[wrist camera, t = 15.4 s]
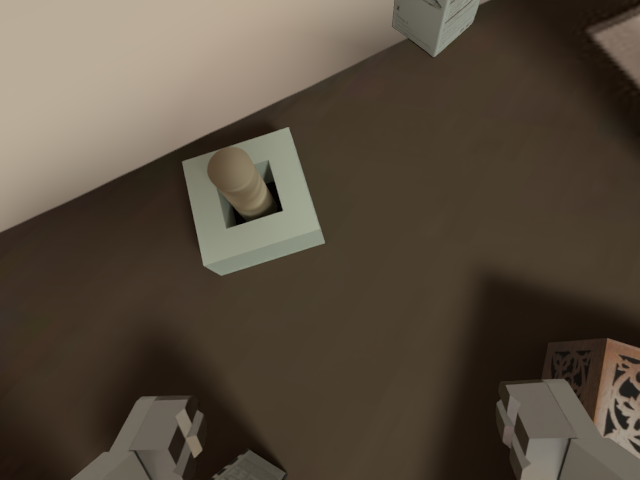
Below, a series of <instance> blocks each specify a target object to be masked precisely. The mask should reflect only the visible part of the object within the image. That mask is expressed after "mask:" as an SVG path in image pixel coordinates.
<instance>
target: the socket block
mask: <svg viewBox="0 0 640 480" xmlns="http://www.w3.org/2000/svg"><path fill="white" fill-rule="evenodd" d="M229 147H238V148H241V149H243V150H244V151H245V152H246V153H247V154H248V155H249V157H250V158H251V160H252V162H253V164H254V165H255V167H256V169H257V170H258V172H259V174H260V176H261V177H262V179H263V181H264V183H265V184H268V183H271V182H274V181H275V184H276V187H277V191H278V194H279V198H280V201H281V205H282V208H283V211H281V212H278V213H275V214H272V215H269V216H265V217H262V218H259V219H256V220H253V221H250V222H247V223H243V224H240V225H237V224H236V220H235V216H234V211H233V207H232V204H231V203H230V202H229V201H228V200H227V199H226V198H225V196H224V195H223V194H222V193H221V192H220V191H219V190H218V188H217V187H216V186H215V185H214V184H213V183H212V182H211V180H210V179H209V177H208V173H207V167H208V163H209V161H210V159H211V157H212V156H213V155H214V154H215V153H216V152H218V151H219V150H221V149H219V150H216V151H213V152H210V153H207V154H204V155H201V156H198V157H195V158H191V159H188V160H185V161H182V164H183V169H184V174H185V179H186V183H187V188H188V193H189V198H190V203H191V207H192V212H193V217H194V222H195V227H196V232H197V236H198V241H199V246H200V251H201V256H202V261H203V265H204V266H205V267H207V268H208V269H210V270H212V271H214V272H216V273H217V274H219V275H221V276H222V275H225V274H228V273H231V272H235V271H238V270H241V269H244V268H247V267H250V266H254V265H257V264H260V263H263V262H266V261H270V260H273V259H276V258H279V257H282V256H285V255H289V254H292V253H295V252H298V251H301V250H304V249H308V248H311V247H314V246H317V245H320V244H323V243H325V241H324V238H323V234H322V231H321V228H320V225H319V222H318V218H317V215H316V212H315V209H314V206H313V202H312V199H311V196H310V193H309V190H308V186H307V183H306V180H305V177H304V174H303V170H302V167H301V164H300V161H299V158H298V154H297V151H296V148H295V145H294V142H293V139H292V136H291V133H290V130H289V127H288V128H285V129H282V130H278V131H275V132H272V133H269V134H266V135H263V136H260V137H257V138H254V139H250V140H247V141H244V142H241V143H238V144H235V145H232V146H229Z"/></svg>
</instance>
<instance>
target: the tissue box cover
mask: <svg viewBox="0 0 640 480" xmlns="http://www.w3.org/2000/svg"><path fill="white" fill-rule="evenodd" d="M546 379H565V380H566V381H567V382H568V383H569V385H570V386H571V388H572V390H573V391H574V393H575V394H576V396H577V397H578V399H579V401H580V402H581V404H582V405H583V407H584V409H585V410H586V412H587V413H588V415H589V417H590V418H591V420H592V421H593V423H594V425H595V426H596V428H597V429H598V431H599V433H600V434H601V436H602V437H603V438H610V439H612V440H613V441H615V442H616V443H618V444H619V445H620V446H622V447H623V448H625V449H626V450H628V451H629V452H631V453H632V454H633V455H635V456H636V457H638V458H639V459H640V348H638V347H634V346H631V345H628V344H625V343H622V342H618V341H615V340H612V339H609V338H602V339H589V340H576V341H563V342H550V343H548V347H547V352H546V357H545V362H544V367H543V372H542V377H541V380H546Z"/></svg>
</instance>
